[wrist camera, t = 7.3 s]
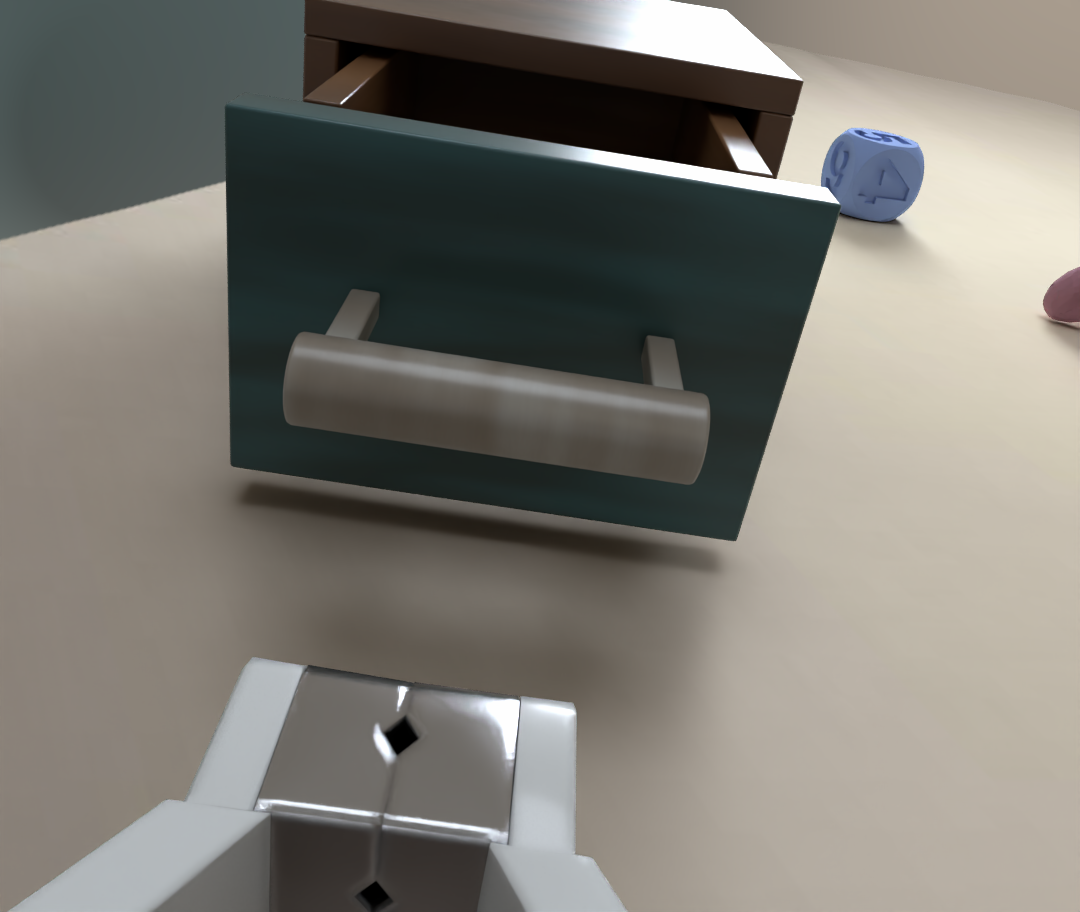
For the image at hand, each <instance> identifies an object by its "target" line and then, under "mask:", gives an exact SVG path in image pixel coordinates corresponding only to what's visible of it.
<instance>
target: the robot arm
mask: <svg viewBox="0 0 1080 912" xmlns="http://www.w3.org/2000/svg"><path fill="white" fill-rule="evenodd" d="M576 728H577V711H576V709H575V707H574V704H573V703H570V702H563V701H555V700H548V699H540V698H532V697H525V696H521V697H520V699H519V697H518V696H516V695H508V694H501V693H493V692H486V691H478V690H471V689H463V688H456V687H448V686H441V685H433V684H426V683H418V682H414V683H412V682H406V681H400V680H394V679H389V678H383V677H377V676H371V675H365V674H359V673H353V672H347V671H341V670H335V669H329V668H323V667H317V666H311V665H308V666H303V665H298V664H292V663H286V662H280V661H274V660H269V659H263V658H257V657H252V658H251V660H250V661H249V662H248V663H247V664H246V665H245V666H244V668H243V669H242V671H241V673H240V675H239V678H238V680H237V682H236V684H235V687H234V689H233V691H232V693H231V696H230V698H229V700H228V702H227V705H226V707H225V709H224V711H223V714H222V716H221V718H220V721H219V723H218V725H217V727H216V730H215V732H214V734H213V736H212V739H211V741H210V743H209V745H208V748H207V750H206V752H205V755H204V757H203V759H202V761H201V764H200V766H199V768H198V770H197V773H196V775H195V777H194V779H193V782H192V784H191V786H190V789H189V791H188V793H187V795H186V798H185V800H184V801H179V800H169V799H166V800H164V801H163V802H162V803H160V804H159V805H157V806H156V807H155V808H153V809H152V810H150V811H149V812H148V813H146V814H145V815H143V816H142V817H140V818H139V819H138V820H136V821H135V822H133V823H132V824H131V825H129V826H128V827H126V828H125V829H123V830H122V831H121V832H119V833H118V834H116V835H115V836H114V837H112V838H111V839H109V840H108V841H107V842H105V843H104V844H102V845H101V846H99V847H98V848H97V849H95V850H94V851H92V852H91V853H90V854H88V855H87V856H85V857H84V858H82V859H81V860H80V861H78V862H77V863H75V864H74V865H73V866H71V867H70V868H68V869H67V870H66V871H64V872H63V873H61V874H60V875H58V876H57V877H56V878H54V879H53V880H51V881H50V882H49V883H47V884H46V885H44V886H43V887H41V888H40V889H39V890H37V891H36V892H34V893H33V894H32V895H30V896H29V897H27V898H26V899H25V900H23V901H22V902H20V903H19V904H17V905H16V906H15V907H13V908H12V909H10V910H9V911H8V912H628V911H627V909H626V908H625V906H624V905H623V903H622V902H621V900H620V899H619V897H618V896H617V894H616V893H615V891H614V890H613V888H612V887H611V885H610V884H609V882H608V881H607V879H606V878H605V876H604V875H603V873H602V872H601V870H600V868H599V867H598V865H597V864H596V862H595V861H594V859H593V858H592V857H587V856H581V855H576V854H575V830H576Z"/></svg>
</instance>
